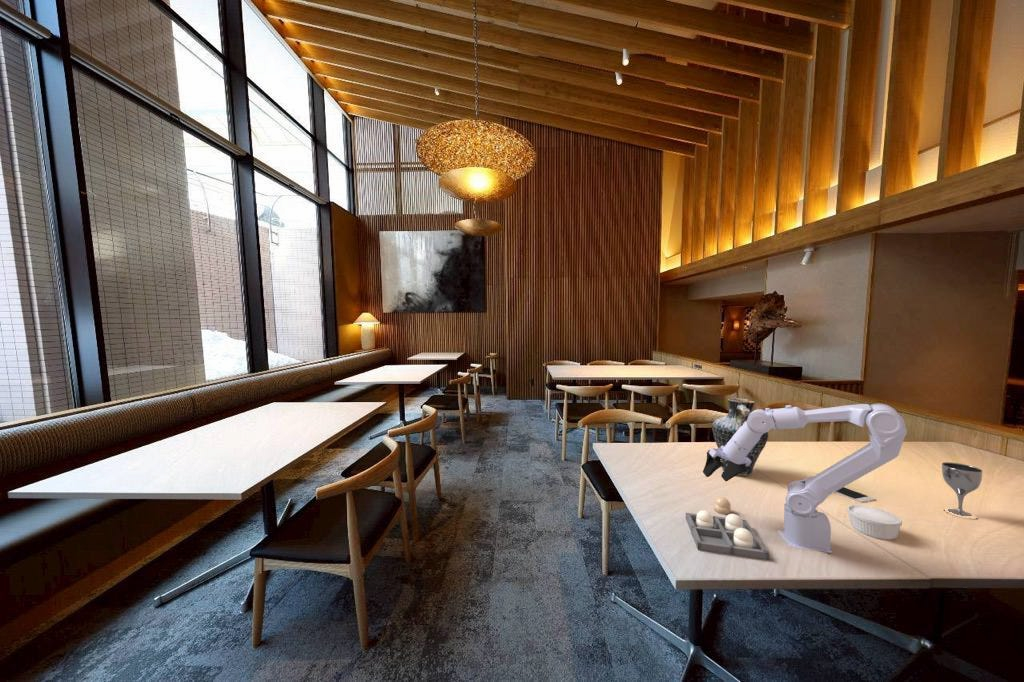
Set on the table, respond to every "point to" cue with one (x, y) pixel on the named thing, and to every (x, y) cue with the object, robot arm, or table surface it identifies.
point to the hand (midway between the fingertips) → (714, 476)
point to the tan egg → (722, 506)
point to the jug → (730, 425)
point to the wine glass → (961, 482)
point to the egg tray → (724, 539)
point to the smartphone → (854, 495)
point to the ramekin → (874, 522)
